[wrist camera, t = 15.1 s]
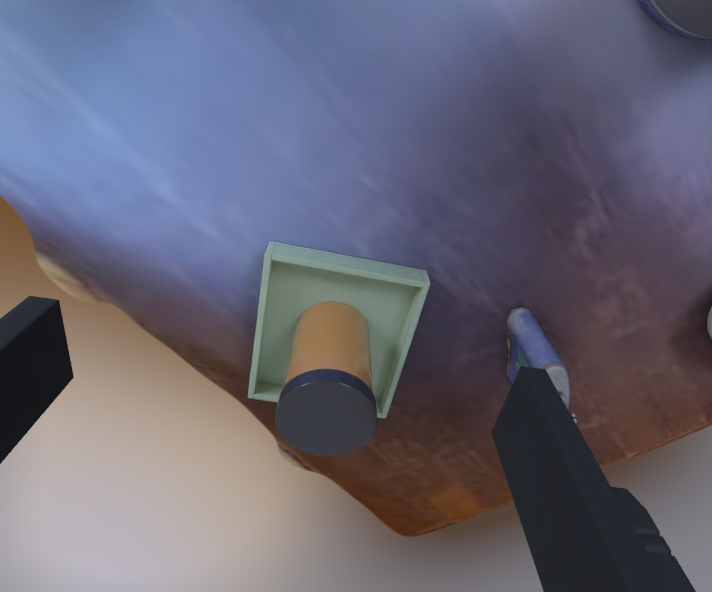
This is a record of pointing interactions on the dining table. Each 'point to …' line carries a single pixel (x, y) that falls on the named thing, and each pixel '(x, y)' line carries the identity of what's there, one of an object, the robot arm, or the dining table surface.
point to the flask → (534, 352)
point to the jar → (328, 382)
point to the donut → (710, 323)
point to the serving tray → (340, 284)
